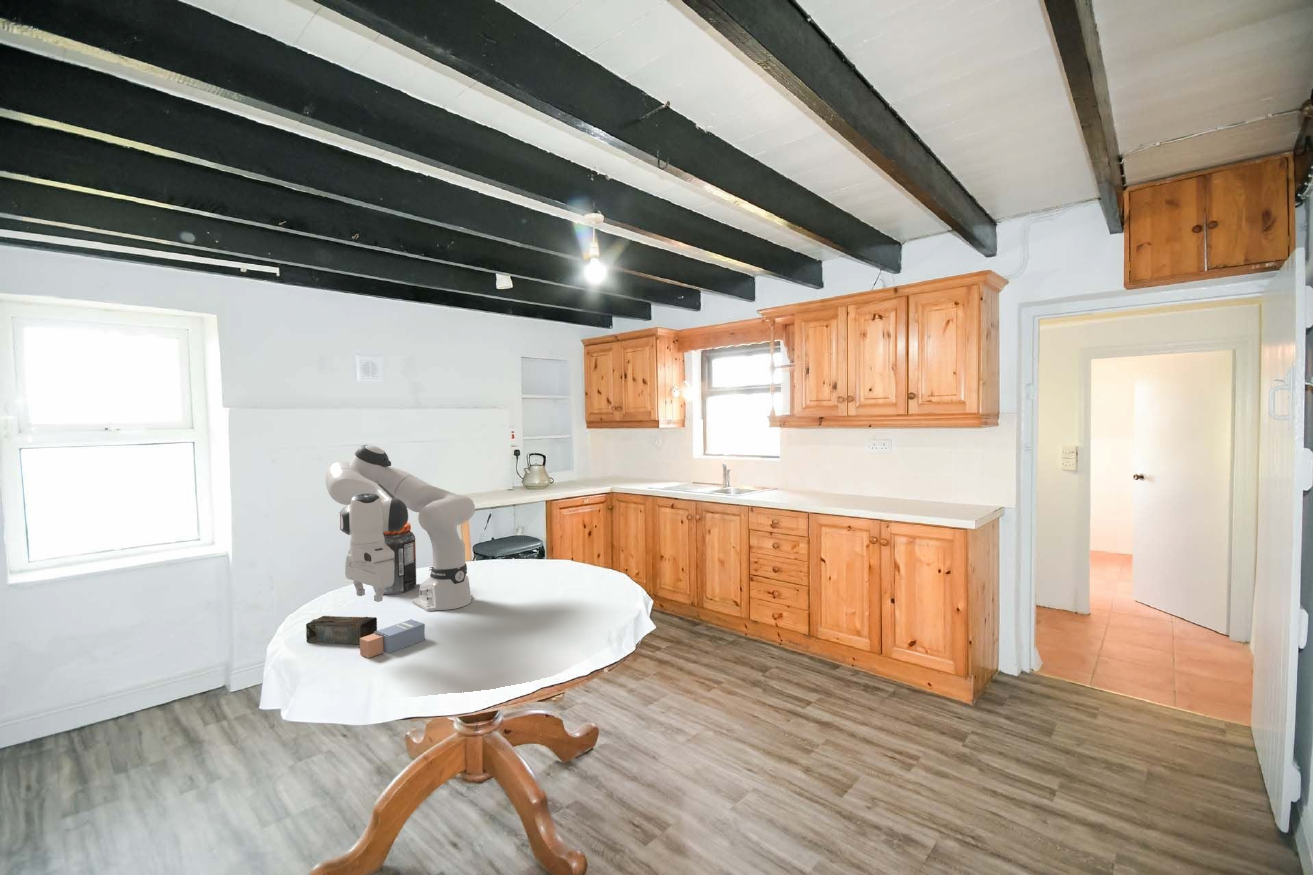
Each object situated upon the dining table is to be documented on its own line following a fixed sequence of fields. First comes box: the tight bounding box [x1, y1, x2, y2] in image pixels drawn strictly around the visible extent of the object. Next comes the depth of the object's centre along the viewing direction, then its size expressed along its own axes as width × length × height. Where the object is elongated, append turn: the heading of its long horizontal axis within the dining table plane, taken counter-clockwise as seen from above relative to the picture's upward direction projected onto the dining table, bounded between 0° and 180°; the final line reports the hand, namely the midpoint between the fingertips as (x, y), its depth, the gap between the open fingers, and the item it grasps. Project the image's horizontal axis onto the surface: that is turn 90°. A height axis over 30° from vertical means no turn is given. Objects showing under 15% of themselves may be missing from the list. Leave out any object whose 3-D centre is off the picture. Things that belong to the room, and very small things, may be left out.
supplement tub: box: [372, 522, 417, 595], centre depth 225 cm, size 16×16×26 cm
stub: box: [359, 633, 384, 659], centre depth 164 cm, size 4×4×5 cm
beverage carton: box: [305, 615, 378, 645], centre depth 176 cm, size 8×19×7 cm, turn 82°
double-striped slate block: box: [374, 619, 426, 654], centre depth 171 cm, size 7×12×5 cm, turn 146°
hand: (369, 598), depth 164 cm, fingers open, 8 cm apart
